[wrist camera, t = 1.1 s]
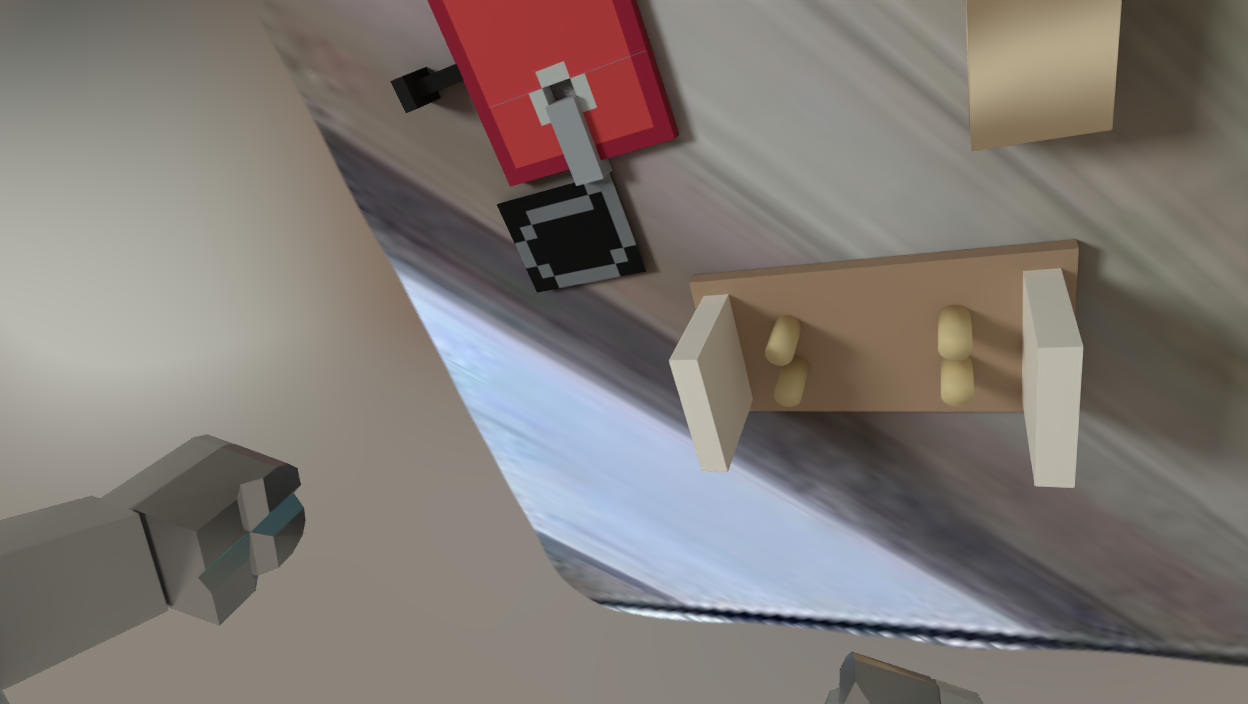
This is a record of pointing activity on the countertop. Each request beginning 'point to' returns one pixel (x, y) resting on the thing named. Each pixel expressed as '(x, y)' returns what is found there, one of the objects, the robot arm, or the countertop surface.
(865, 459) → the countertop surface
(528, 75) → the red board with handle
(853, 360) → the cradle
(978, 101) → the tan wooden block
